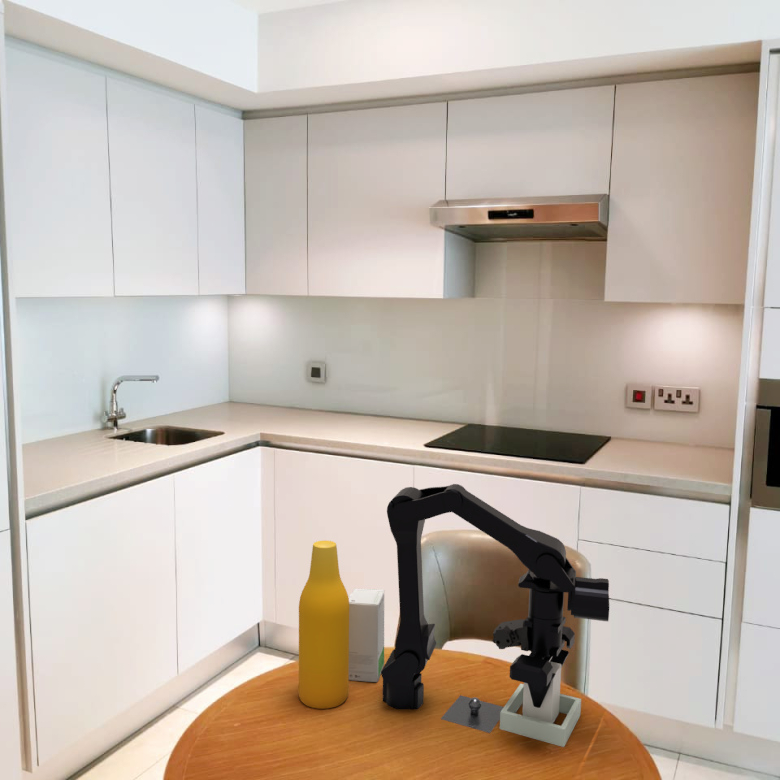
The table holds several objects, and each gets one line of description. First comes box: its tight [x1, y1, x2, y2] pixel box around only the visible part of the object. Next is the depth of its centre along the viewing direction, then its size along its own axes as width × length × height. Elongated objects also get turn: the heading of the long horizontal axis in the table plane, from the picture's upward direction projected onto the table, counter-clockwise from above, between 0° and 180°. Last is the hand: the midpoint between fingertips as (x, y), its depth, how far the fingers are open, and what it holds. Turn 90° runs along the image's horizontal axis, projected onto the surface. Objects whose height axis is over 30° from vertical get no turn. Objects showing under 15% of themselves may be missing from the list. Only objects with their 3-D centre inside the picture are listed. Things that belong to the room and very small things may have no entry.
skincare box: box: [348, 587, 385, 683], centre depth 153 cm, size 8×7×16 cm
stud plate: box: [440, 695, 504, 734], centre depth 138 cm, size 9×9×4 cm
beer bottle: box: [297, 540, 350, 710], centre depth 142 cm, size 9×9×29 cm
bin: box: [499, 683, 582, 748], centre depth 135 cm, size 11×11×4 cm
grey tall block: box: [521, 662, 562, 724], centre depth 135 cm, size 5×5×9 cm
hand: (541, 699), depth 135 cm, fingers closed on grey tall block, 5 cm apart
